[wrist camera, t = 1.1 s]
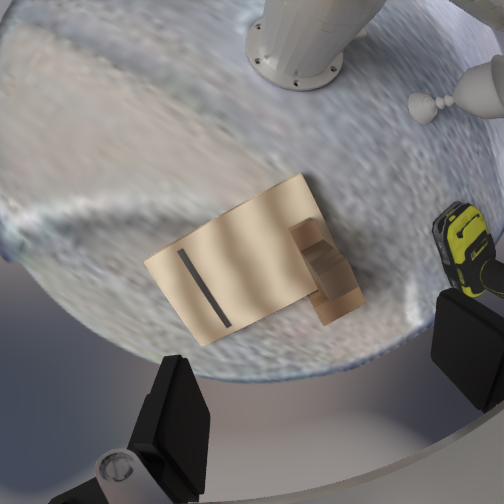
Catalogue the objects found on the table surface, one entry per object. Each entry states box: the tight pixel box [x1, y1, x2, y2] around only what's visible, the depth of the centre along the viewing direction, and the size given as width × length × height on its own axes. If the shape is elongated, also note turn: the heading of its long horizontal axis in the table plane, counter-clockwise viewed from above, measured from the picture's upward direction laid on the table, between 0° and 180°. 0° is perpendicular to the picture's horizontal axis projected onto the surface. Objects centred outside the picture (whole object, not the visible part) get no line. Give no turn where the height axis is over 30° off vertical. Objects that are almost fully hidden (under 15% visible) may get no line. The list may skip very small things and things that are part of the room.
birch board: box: [144, 174, 339, 346], centre depth 36 cm, size 22×14×2 cm, turn 118°
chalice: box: [408, 54, 504, 125], centre depth 23 cm, size 7×7×18 cm
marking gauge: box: [288, 217, 365, 326], centre depth 31 cm, size 6×12×12 cm, turn 28°
